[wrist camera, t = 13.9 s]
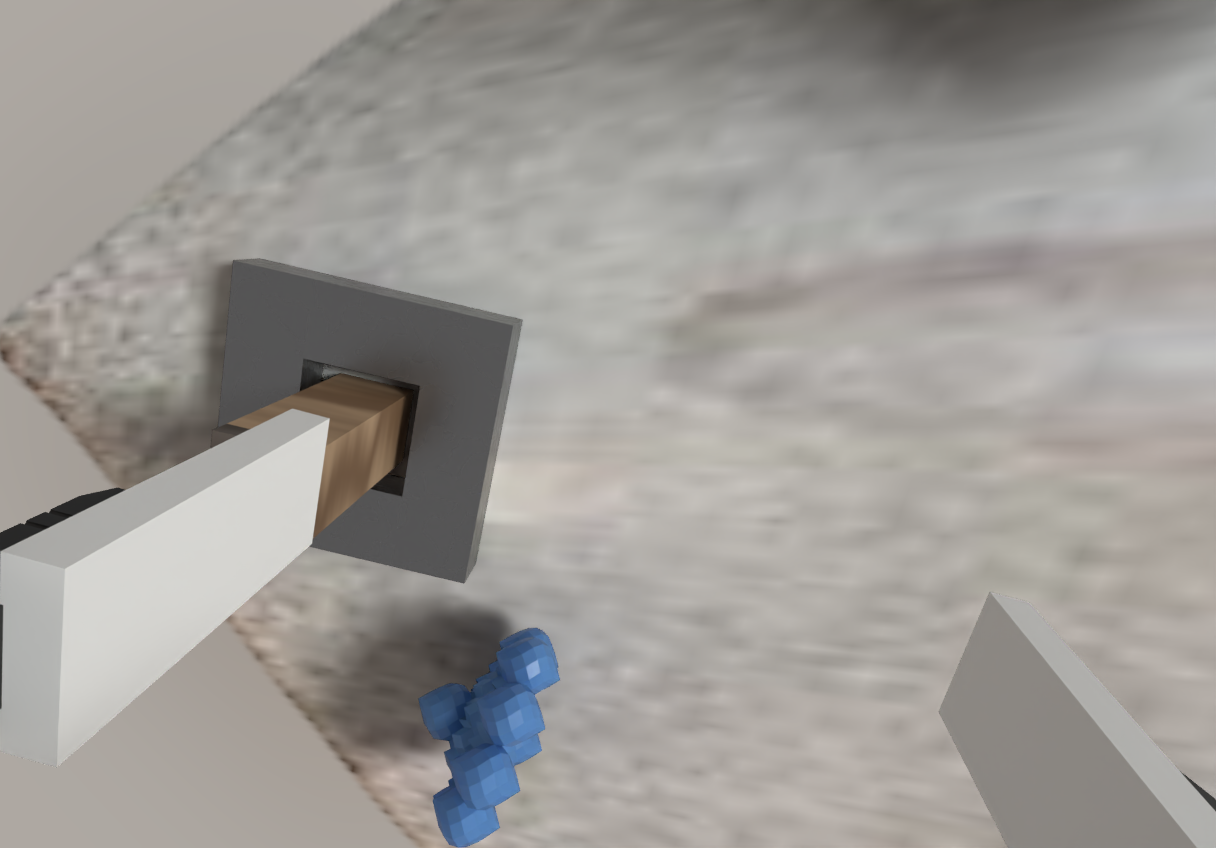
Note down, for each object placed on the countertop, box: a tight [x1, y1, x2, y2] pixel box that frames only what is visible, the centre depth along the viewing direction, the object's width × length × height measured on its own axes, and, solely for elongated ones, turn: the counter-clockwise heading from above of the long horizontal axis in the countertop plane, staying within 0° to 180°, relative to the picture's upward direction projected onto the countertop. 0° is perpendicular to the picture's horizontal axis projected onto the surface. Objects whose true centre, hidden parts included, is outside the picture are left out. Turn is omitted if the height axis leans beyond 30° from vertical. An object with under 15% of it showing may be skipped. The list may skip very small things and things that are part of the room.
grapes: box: [419, 628, 560, 847], centre depth 39 cm, size 12×7×12 cm, turn 157°
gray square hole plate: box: [218, 259, 523, 583], centre depth 40 cm, size 14×14×2 cm
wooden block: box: [211, 373, 414, 538], centre depth 35 cm, size 4×4×12 cm
